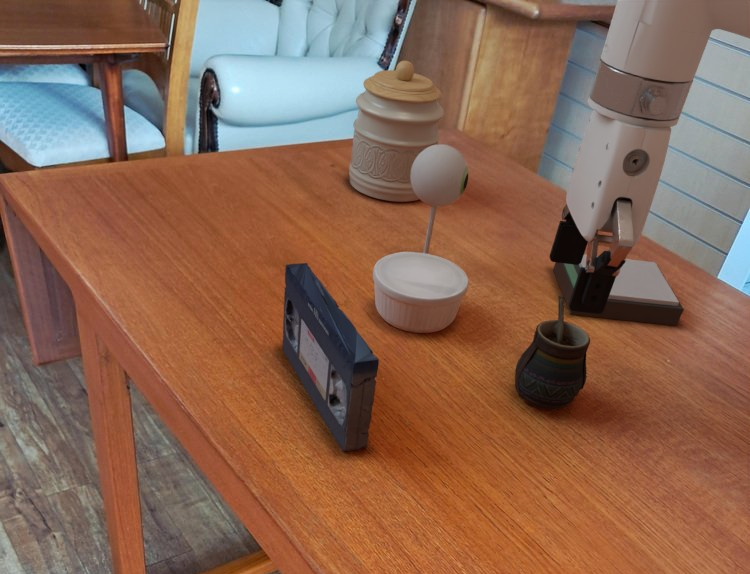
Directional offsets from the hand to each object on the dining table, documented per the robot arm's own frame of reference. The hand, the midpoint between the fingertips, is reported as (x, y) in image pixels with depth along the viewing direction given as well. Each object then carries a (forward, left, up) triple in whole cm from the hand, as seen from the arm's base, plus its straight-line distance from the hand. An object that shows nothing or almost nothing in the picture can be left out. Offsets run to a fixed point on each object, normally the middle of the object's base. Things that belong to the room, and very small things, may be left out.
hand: (574, 285), depth 76 cm
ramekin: (+13, -15, -13) cm, 24 cm away
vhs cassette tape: (+23, +3, -13) cm, 27 cm away
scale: (-14, -25, -13) cm, 32 cm away
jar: (+15, -54, -13) cm, 58 cm away
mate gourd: (0, 0, -13) cm, 13 cm away
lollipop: (+11, -29, -13) cm, 34 cm away
